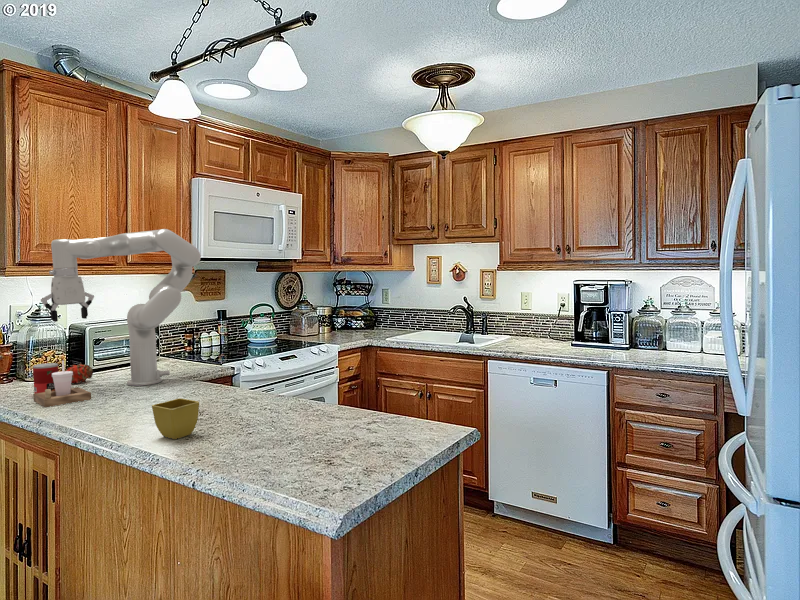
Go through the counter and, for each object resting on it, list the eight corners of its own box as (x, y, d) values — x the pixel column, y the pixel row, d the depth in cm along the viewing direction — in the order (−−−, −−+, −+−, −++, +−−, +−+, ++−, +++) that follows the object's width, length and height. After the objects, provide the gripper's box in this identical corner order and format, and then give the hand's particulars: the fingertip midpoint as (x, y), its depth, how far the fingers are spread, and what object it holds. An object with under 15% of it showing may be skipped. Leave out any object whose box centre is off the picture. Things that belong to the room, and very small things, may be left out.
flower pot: (172, 443, 140) (171, 408, 139) (152, 438, 145) (150, 404, 144) (201, 434, 147) (200, 401, 147) (180, 429, 152) (179, 398, 152)
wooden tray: (78, 393, 200) (77, 378, 199) (91, 399, 190) (90, 384, 190) (33, 400, 189) (32, 385, 189) (44, 407, 180) (43, 391, 179)
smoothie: (62, 402, 186) (60, 362, 185) (48, 401, 188) (46, 361, 187) (78, 398, 192) (76, 359, 191) (65, 397, 194) (63, 358, 193)
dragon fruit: (97, 384, 223) (63, 393, 215) (90, 370, 227) (58, 379, 220) (96, 370, 218) (62, 378, 211) (90, 356, 223) (56, 364, 215)
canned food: (50, 396, 195) (49, 366, 195) (29, 397, 195) (27, 366, 195) (64, 392, 203) (63, 362, 202) (43, 392, 203) (41, 363, 202)
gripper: (42, 274, 189) (46, 323, 191) (95, 272, 203) (99, 317, 204) (35, 274, 194) (39, 322, 196) (87, 272, 207) (91, 316, 209)
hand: (70, 319), depth 200 cm, fingers open, 9 cm apart
